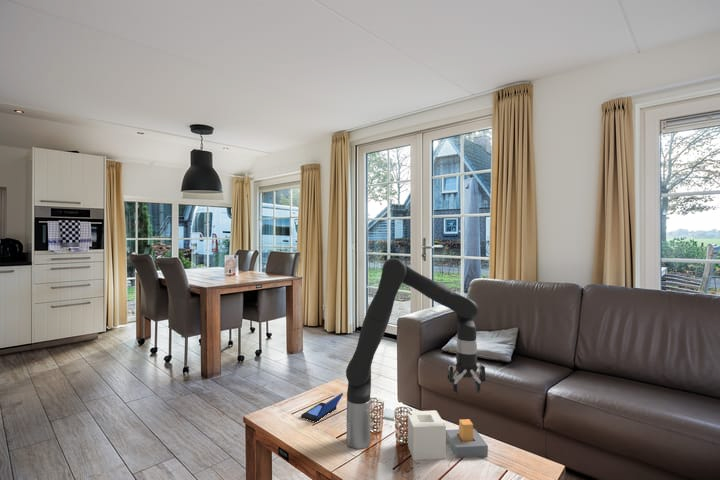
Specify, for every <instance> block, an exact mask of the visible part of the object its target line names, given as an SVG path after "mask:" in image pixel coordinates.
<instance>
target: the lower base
mask: <svg viewBox="0 0 720 480" xmlns="http://www.w3.org/2000/svg"><path fill="white" fill-rule="evenodd" d="M446 444H448V446H449V448H450V450H451V451H452V454H453V455H454V457H455V458H456V459H462V458H479V457H485V458H486V457H488V455H489V451H488V450H489V448H488V447H489V445H488V444H487V442H486V441H485V440H484V439H483V437H482V435H480V433H479V431H477V429H475V428H473V441H470V442H461V440H460V439H459V428H458V429H457V428H456V429H446Z"/></svg>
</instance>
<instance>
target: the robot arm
mask: <svg viewBox="0 0 720 480" xmlns="http://www.w3.org/2000/svg"><path fill="white" fill-rule="evenodd" d="M402 284H404V285H406V286H409V287H410V288H412V289H414V290H416V291H418V292H419V293H420V294H422V295H423V296H425V297H426V298H428V299H430V300H432V301H433V302H435V303H438V304H439V305H441V306H444V307H445V308H448V309H450V310H451V311H453V312H454V313H456V320H457V321H456V322H457V333H456V335H457V336H456V347H455V348H456V364H455V365H451V364H448V366H447V376H446V377H447V381H448V382H449V383H451V389H452V392H453V393H454V394H458V382H459V381H460V380H462V378H463V379H465V378H473V379H474V380H475V381H474V391H475V393H476V394H479V392H481V383H482V382H486V367H485V366H484V365H483V364H482V363H480V364H478V365H477V363H478V345H477V343H478V342H477V327H476V324H475V318H476V316H478V313H479V306H478V304H477V303H476V302H475V301H474V300H473V299H471V298H469V297H465V296H463V295H461V294H459V293H457V292H456V291H455V290H453V289H452V288H450V287H447V286H446V285H443V283H439V282H438V281H436V280H433V279H432V278H429V277H427V276H425V275H423V274H421V273H419V272H417V271H415V270H414V269H412V268H411V267H410V266H409V265H407V264H406V263H404V261H403V260H402V259H400V258H397V257H391V258H390V257H389V258H388V259H386V260H385V261H384V263H383V265H382V270H381V276H380V281H379V282H378V287H377V290H376V293H375V294H374V296H373V298H372V300H371V302H370V304H369V306H368V308H367V310H366V313H365V316H364V319H363V321H362V326H361V328H360V332H359V337H358V340H357V341H358V342H357V346H356V348H355V351H354V353H353V356H352V357H351V359H350V361H349V362H348V364H347V367H346V371H345V376H346V377H345V378H346V379H347V391H346V447H347V448H351V449H357V450H359V449H365V448H367V447H369V445H370V444H371V415H370V412H371V392H372V390H371V389H372V364H373V360H374V357H375V355H376V351H377V349H378V348H379V346H380V344H381V341H382V339H383V337H384V335H385V332H386V330H387V328H388V324H389V323H390V322H389V321H390V318H391V315H392V311H393V308H394V304H395V300H396V297H397V294H398V292H399V289H400V287H401V285H402ZM455 371H456V372H455ZM477 371H479V376H478V375H477V374H476V372H477ZM454 372H455V373H454Z"/></svg>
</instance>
